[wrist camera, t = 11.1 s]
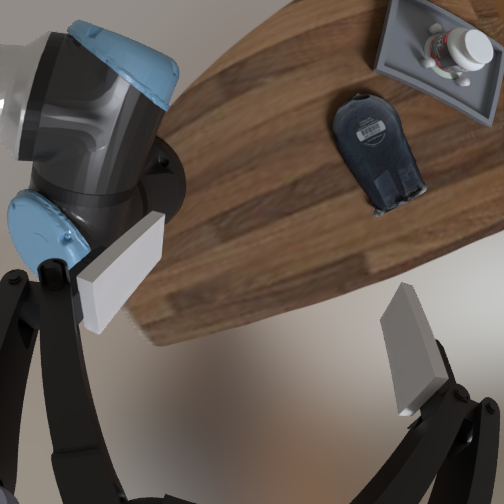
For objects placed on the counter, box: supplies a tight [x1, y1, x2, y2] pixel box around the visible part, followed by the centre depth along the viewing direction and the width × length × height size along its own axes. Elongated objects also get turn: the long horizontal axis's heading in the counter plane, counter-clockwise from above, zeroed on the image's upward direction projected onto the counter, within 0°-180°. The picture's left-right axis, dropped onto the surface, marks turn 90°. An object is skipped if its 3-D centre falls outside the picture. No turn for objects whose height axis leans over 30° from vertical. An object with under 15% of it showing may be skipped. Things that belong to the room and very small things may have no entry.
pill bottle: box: [428, 28, 493, 73], centre depth 22 cm, size 5×5×10 cm
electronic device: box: [332, 93, 427, 217], centre depth 35 cm, size 9×6×15 cm
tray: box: [372, 0, 504, 127], centre depth 26 cm, size 18×13×4 cm
